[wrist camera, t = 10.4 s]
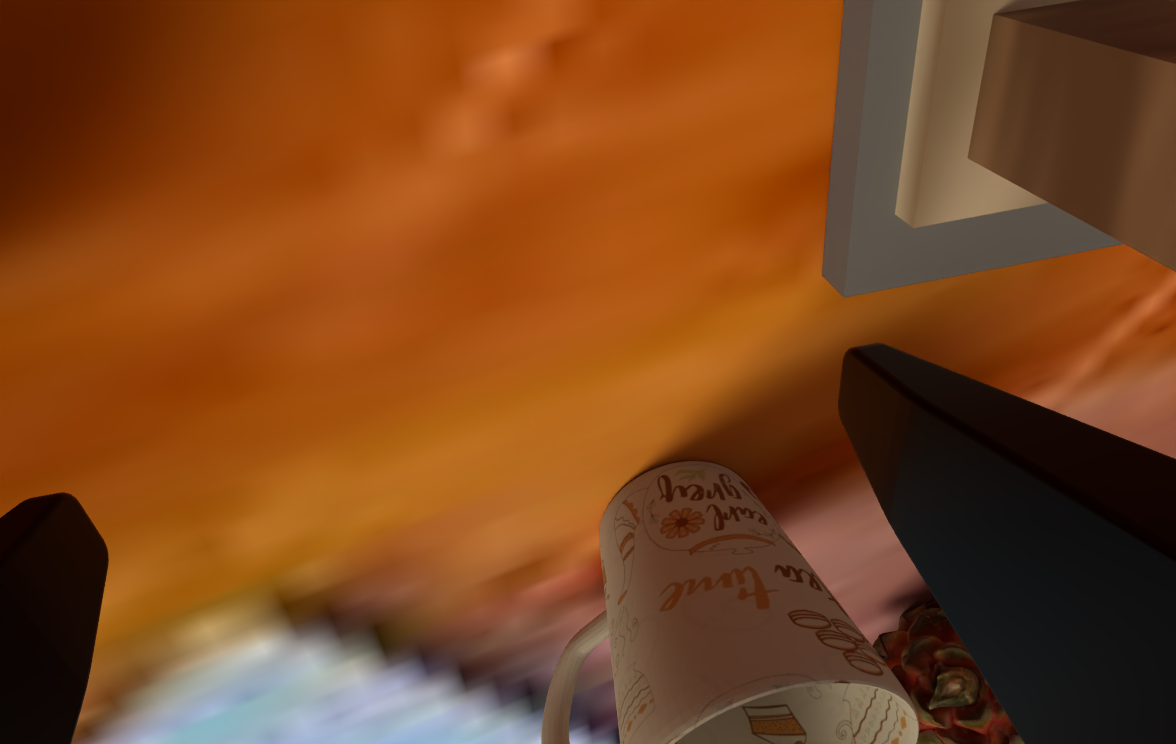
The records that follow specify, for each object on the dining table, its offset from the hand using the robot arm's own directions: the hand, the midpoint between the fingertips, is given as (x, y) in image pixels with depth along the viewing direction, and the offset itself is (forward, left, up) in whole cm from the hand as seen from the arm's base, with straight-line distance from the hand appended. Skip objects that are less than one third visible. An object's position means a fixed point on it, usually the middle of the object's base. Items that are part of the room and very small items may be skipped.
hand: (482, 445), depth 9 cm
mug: (+11, -14, -13) cm, 22 cm away
